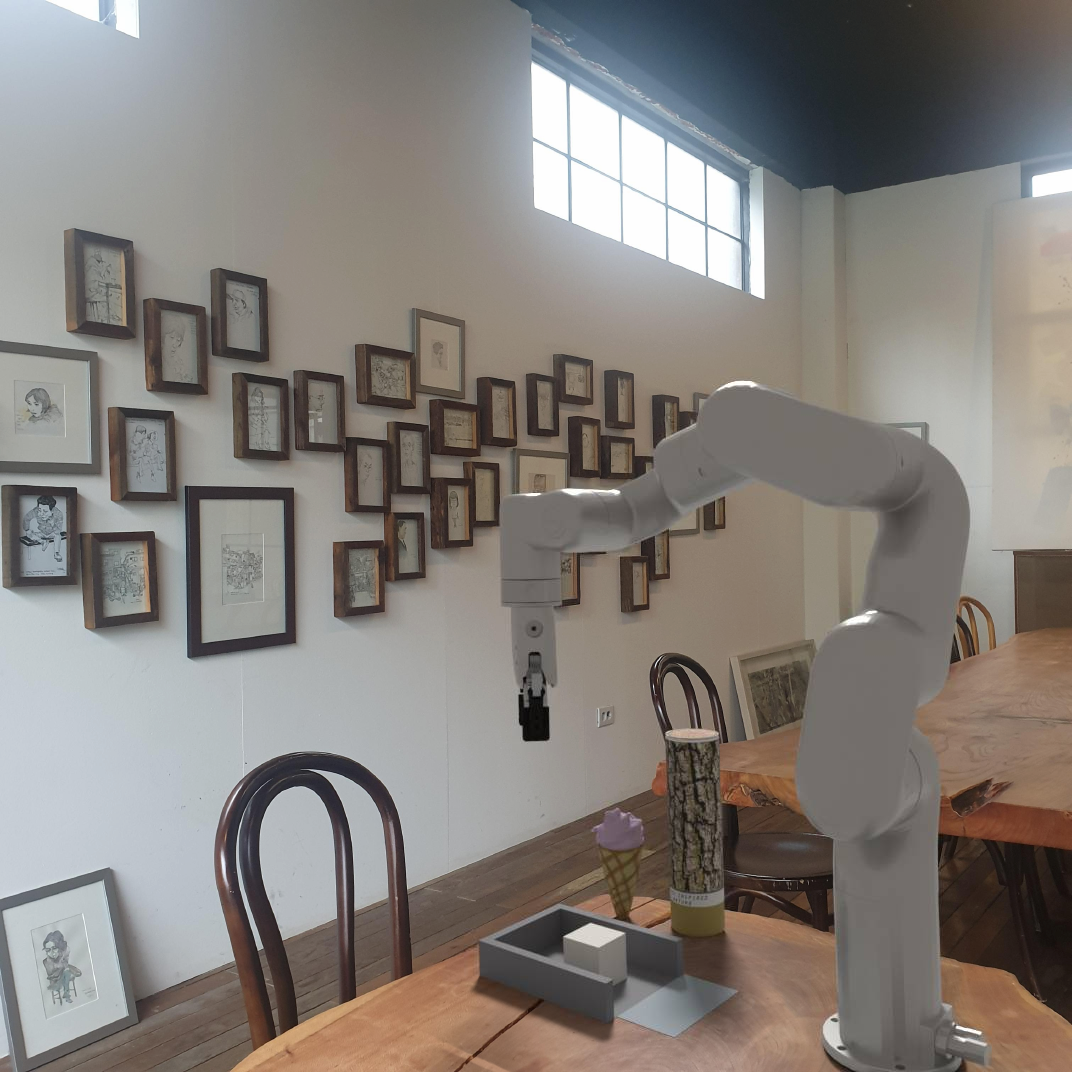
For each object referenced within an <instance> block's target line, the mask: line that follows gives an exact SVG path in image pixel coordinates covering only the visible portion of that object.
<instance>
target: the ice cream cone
mask: <svg viewBox="0 0 1072 1072" xmlns="http://www.w3.org/2000/svg"><path fill="white" fill-rule="evenodd" d="M604 815H605V817H603V822H602V823H600V824H598V825H594V826H593V828H592V829H590V831H591V832H592V833H594V832H596V833H597V834H596V837H595V839H596V845H597V848H598V852H599V854H598V855H599V859H600V861H601V867H602V870H603V875H604V879H605V882H606V886H607V889H608V893H609V896H610V900H611V903H612V906H613V909H614V913H615V916H616V918H617V920H619V919H620V920H626V919H629V918H630V914H631V910H632V906H633V901H634V899H635V898H634V897H635V893H636V888H637V883H638V880H639V873H640V868H641V863H642V858H643V849H644V841H645V838H644V827H643V820H642V819H641V818H637V817H635V815H633V814H632V812H630V811H629V812H627V813H626V812H622V811H621V810H620V808H619V807H616V808H615V809H613V810H607V811H605V812H604Z"/></svg>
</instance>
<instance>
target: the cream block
mask: <svg viewBox="0 0 1072 1072" xmlns="http://www.w3.org/2000/svg"><path fill="white" fill-rule="evenodd" d="M563 948H564V963H565V964H568V965H571V966H574V967H577V968H580V969H583V970H586V971H589V972H592V973H595V974H598V975H601V976H604V977H607V978H610V979H613V986H614V985H616V984H617V983H619V982H621V981H622V980H624V979H626V978H627V962H626V933H623V932H620V931H617V930H613V929H610V928H606V927H603V926H599V925H596V924H592V923H589V924H587V925H585V926H583V927H581V928H579V929H577V930H575V931H573V932H572V933H570V934H568V935H566V936H564V937H563Z"/></svg>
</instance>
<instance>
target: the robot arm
mask: <svg viewBox="0 0 1072 1072" xmlns="http://www.w3.org/2000/svg"><path fill="white" fill-rule="evenodd" d="M962 479H963V478H961V475H960V474H959V472H958V470H957V469H956V467H955V466H954V465H953V463H952V462H951V461H950V460H949V459H948V458H947V457H946V456H945V455H944V454H943V453H942V452H941V451H940V450H938V449H937V448H936V447H935V446H933V445H932V444H930V443H929V442H928V441H926V440H925V439H923V438H921V437H919V436H917V435H915V434H914V433H912V432H909V431H907V430H905V429H902V428H899V427H897V426H893V425H889V424H885V423H880V422H875V421H871V420H868V419H867V420H866V419H863V418H859V417H855V416H852V415H849V414H846V413H842V412H839V411H837V410H833V409H830V408H827V407H825V406H824V407H823V406H820V405H817V404H815V403H811V402H808V401H806V400H802V399H800V398H799V397H798V396H797V395H795V394H793V393H791V392H790V391H787V390H784V389H783V388H778V387H775V386H771V385H767V384H763V383H760V382H756V381H755V382H754V381H750V380H748V381H747V380H746V381H745V380H739V381H734V382H730V383H727V384H725V385H723V386H721V387H720V388H719V387H718V389H716V390H715V391H713V392H712V393H711V394H710V395H709V396H708V397H707V398H706V399H705V400H704V402H703V403H702V405H701V406H700V409H699V411H698V415H697V417H696V423H694V424H692V425H690V426H688V427H685V428H683V429H681V430H678V431H677V432H675V433H673V434H671V435H668V436H667V437H665V438H662V440H660V441H659V442H658V443H657V445H656V446H655V449H654V451H653V468H651V469H650V470H649V471H647V472H646V473H644V474H642V475H640V476H638V477H637V478H634V479H633V480H630V481H628V482H626V483H624V484H622V485H619V486H618V487H615V488H613V489H610V490H603V489H585V488H582V489H581V488H561V489H555V490H551V491H548V492H543V493H516V494H515V493H514V494H509V495H506V496H505V497H503V498H502V500H501V501H500V504H499V510H498V511H499V512H498V513H499V515H498V516H499V559H500V560H499V562H500V563H499V565H500V567H499V568H500V571H499V572H500V606H501V607H503V608H504V607H505V608H510V627H511V630H510V631H511V633H510V634H511V652H512V653H511V654H512V662H513V663H512V665H513V671H514V672H513V673H514V678H515V683H516V685H517V687H518V688H519V693H518V694H517V695H518V697H517V701H518V705H517V706H518V725H519V726H521V728H522V732H521V733H522V741H523V742H526V743H527V742H547V741H549V740H550V737H551V736H550V735H551V733H550V730H551V729H550V706H549V704H548V701H549V700H548V688H547V686H548V685H550V686H551V687H550V688H551V689H555V688H556V687H558V685H559V684H558V683H559V682H558V666H557V665H558V663H557V662H558V661H557V659H558V658H557V633H556V632H557V631H556V618H555V610H554V607H559V606H562V604H563V601H562V600H563V599H562V593H563V592H562V590H563V589H562V558H561V557H562V554H561V553H565V554H569V553H570V554H575V553H576V554H577V553H590V552H591V553H593V552H595V553H596V552H600V553H601V552H603V553H604V552H605V553H606V552H615V551H618V550H622V549H625V548H628V547H630V546H632V545H635V544H638V543H640V542H642V541H645V540H647V539H649V538H652V537H655V536H656V535H657V536H658V535H659V534H661V533H663V532H665V531H667V530H669V529H671V528H672V527H674V526H676V525H677V524H679V523H680V522H682V521H683V520H684V519H686V518H687V517H689V516H690V515H691V514H692V512H694V511H695V510H697V509H700V508H701V507H703V506H706V505H708V504H711V503H712V502H714V501H717V500H720V499H721V498H724V497H726V496H728V495H731V494H733V493H735V492H738V491H739V490H742V489H744V488H746V487H749V486H751V485H753V484H755V483H759V482H760V483H763V484H764V485H768V486H770V487H773V488H775V489H779V490H781V491H783V492H785V493H788V494H790V495H792V496H795V497H798V498H800V499H803V500H805V501H807V502H811V503H813V504H815V505H818V506H822V507H823V508H824V507H825V508H827V509H832V510H834V511H835V510H836V511H843V512H863V513H864V512H866V513H867V512H870V513H872V514H874V516H875V517H876V519H877V531H876V535H875V538H874V541H873V544H872V546H871V549H870V553H869V556H868V560H867V564H866V572H865V580H864V586H863V592H862V597H861V601H860V606H859V608H858V613H857V616H853V617H850V618H847V619H845V620H844V621H842V622H840V623H838V624H837V625H836V626H834V627H833V628H832V629H831V630H830V631H829V632H827V634H826V635H825V637H824V638H823V639H822V641H821V643H820V644H819V646H818V648H817V651H816V653H815V655H814V658H813V661H812V663H811V668H810V673H809V679H808V683H807V689H806V696H805V703H804V708H803V714H802V721H801V727H800V733H799V739H798V740H799V741H798V747H797V751H796V759H795V767H794V786H795V793H796V797H797V801H798V804H799V806H800V807H801V810H802V812H803V814H804V815H805V817H806V819H807V820H808V821H809V822H810V824H811V825H812V826H813V827H814V828H815V829H817V831H818V832H820V833H821V834H823V835H825V836H826V837H828V838H830V839H833V846H832V847H833V848H832V849H833V850H832V852H833V853H832V870H833V871H832V872H833V873H832V874H833V875H832V876H833V880H832V881H833V882H832V884H833V885H832V886H833V914H834V917H833V919H834V941H835V942H834V946H835V947H834V948H835V969H836V971H835V977H836V1004H837V1005H836V1006H837V1012H836V1013H834V1014H832V1015H830V1016H828V1018H827V1019H826V1020H825V1021H823V1022H824V1023H823V1024H822V1026H821V1041H822V1046H823V1047H824V1050H825V1051H826V1053H828V1054H829V1055H830V1056H831V1058H833V1060H834V1061H836V1062H838V1063H839V1064H841V1065H842V1066H843V1067H846V1068H847V1069H850V1070H851V1071H853V1072H956V1071H957V1070H959V1068H960V1066H961V1065H962V1060H963V1059H964V1060H965V1061H966V1062H970V1063H972V1064H975V1065H979V1066H982V1067H986V1068H987V1067H988V1066H989V1064H990V1059H991V1045H990V1044H989V1043H988V1042H985V1034H984V1032H983V1031H982V1030H977V1029H974V1028H970V1027H964V1026H961V1025H959V1023H958V1022H957V1021H956V1020H955V1021H954V1018H953V1015H954V1014H953V1012H954V1011H953V1005H951V1004H948V1003H945V1002H944V1003H943V1000H942V999H943V997H942V995H943V994H942V993H943V992H942V971H941V970H942V969H941V968H942V967H941V944H940V943H941V941H940V940H941V939H940V917H939V916H940V913H939V888H940V887H939V867H938V865H939V863H938V862H939V861H938V860H939V859H938V857H939V855H938V854H939V852H938V851H939V850H938V845H939V844H938V843H939V841H938V840H939V821H940V811H941V810H940V809H941V808H940V807H941V800H942V799H941V796H942V793H941V792H942V776H941V775H942V774H941V768H940V763H939V758H938V756H937V754H936V751H935V749H934V747H933V745H932V744H931V742H930V741H929V739H928V738H927V737H926V735H925V734H924V733H923V732H922V731H920V729H919V728H917V727H916V726H915V720H916V715H917V710H918V708H920V707H922V706H924V705H927V704H928V703H930V702H931V701H932V700H933V699H934V698H936V697H937V696H938V695H939V694H940V692H941V691H942V689H943V688H944V686H945V684H946V682H947V679H948V675H949V671H950V666H951V657H952V648H953V641H954V635H955V629H956V623H957V618H958V617H957V616H958V611H959V606H960V599H961V591H962V582H963V577H964V570H965V563H966V559H967V552H968V547H969V539H970V530H971V529H970V528H971V511H970V510H971V506H970V502H969V501H970V500H969V497H968V493H967V490H966V486H965V484H964V482H963V480H962ZM547 684H548V685H547Z"/></svg>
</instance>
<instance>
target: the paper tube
mask: <svg viewBox="0 0 1072 1072" xmlns="http://www.w3.org/2000/svg"><path fill="white" fill-rule="evenodd" d="M664 741H665V746H664V747H665V775H666V776H665V777H666V778H665V779H666V780H665V781H666V803H667V804H666V805H667V810H666V811H667V835H668V837H667V838H668V839H667V841H668V873H669V874H668V875H669V898H670V926H671V928H672V929H673V931H675V932H676V933H679V934H681V935H683V936H687V937H692V938H693V937H694V938H706V937H707V938H708V937H714V936H717V935H719V934H722V933H723V932H724V930H725V927H726V922H725V921H726V918H725V917H726V915H725V914H726V913H725V883H724V882H725V880H724V878H725V877H724V851H723V850H724V849H723V848H724V846H723V826H722V825H723V819H722V815H723V814H722V786H721V785H722V784H721V758H720V757H721V756H720V755H721V754H720V752H721V751H720V736H719V732H718V731H715V730H712V729H706V728H678V729H672V730H668V731H666V732H665V740H664Z"/></svg>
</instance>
